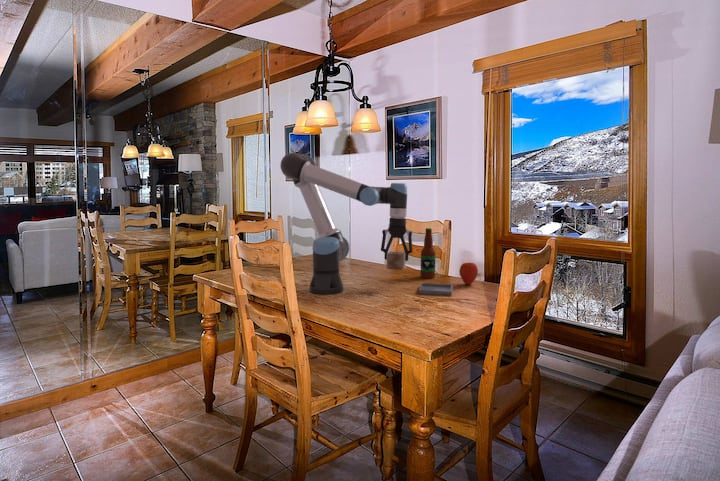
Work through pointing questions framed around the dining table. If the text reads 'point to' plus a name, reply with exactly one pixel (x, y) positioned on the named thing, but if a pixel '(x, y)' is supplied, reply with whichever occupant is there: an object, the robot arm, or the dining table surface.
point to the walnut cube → (395, 260)
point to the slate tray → (436, 289)
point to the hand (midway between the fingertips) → (396, 267)
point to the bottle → (428, 256)
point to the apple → (468, 272)
